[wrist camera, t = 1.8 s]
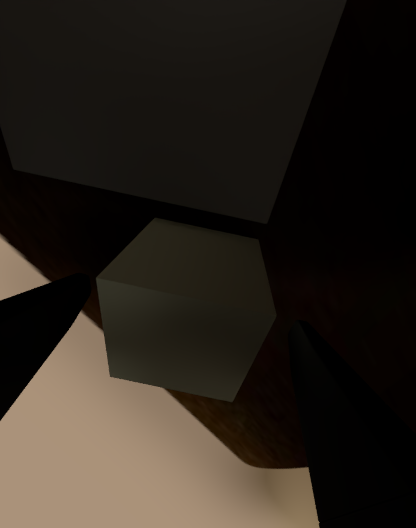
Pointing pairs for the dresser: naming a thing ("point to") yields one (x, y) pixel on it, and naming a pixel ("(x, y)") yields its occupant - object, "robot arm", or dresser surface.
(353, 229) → the dresser surface
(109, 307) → the cube
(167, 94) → the mat
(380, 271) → the dresser surface
